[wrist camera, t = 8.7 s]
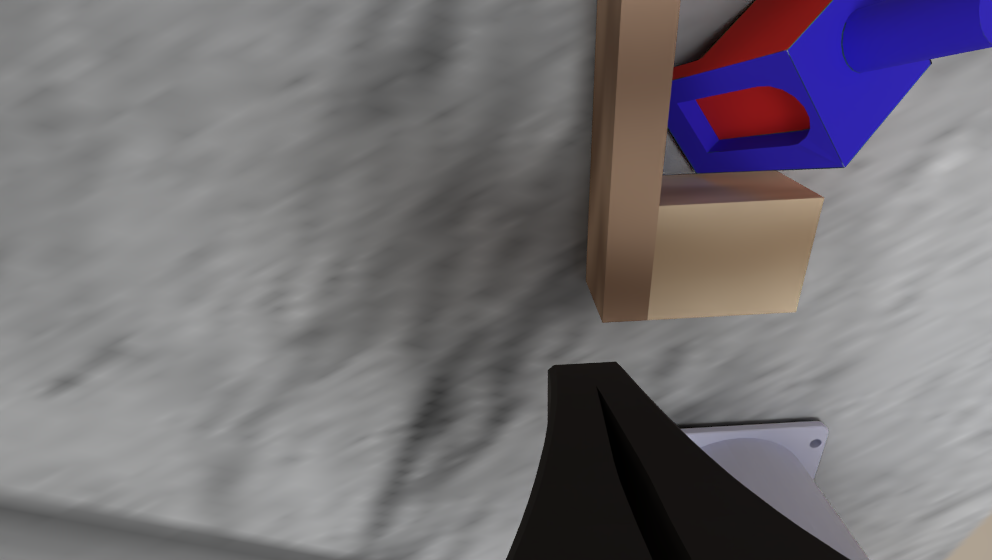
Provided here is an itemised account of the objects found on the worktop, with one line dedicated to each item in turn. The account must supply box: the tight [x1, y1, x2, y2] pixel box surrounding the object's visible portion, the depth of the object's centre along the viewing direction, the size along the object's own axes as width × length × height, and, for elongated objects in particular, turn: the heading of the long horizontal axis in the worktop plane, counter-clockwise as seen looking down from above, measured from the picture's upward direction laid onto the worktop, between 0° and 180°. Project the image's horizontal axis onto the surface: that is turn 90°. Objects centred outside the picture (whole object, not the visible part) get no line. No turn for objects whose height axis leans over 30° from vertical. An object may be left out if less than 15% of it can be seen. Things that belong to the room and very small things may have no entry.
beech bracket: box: [586, 0, 824, 323], centre depth 16 cm, size 15×6×3 cm, turn 2°
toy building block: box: [667, 0, 992, 174], centre depth 15 cm, size 4×4×8 cm
